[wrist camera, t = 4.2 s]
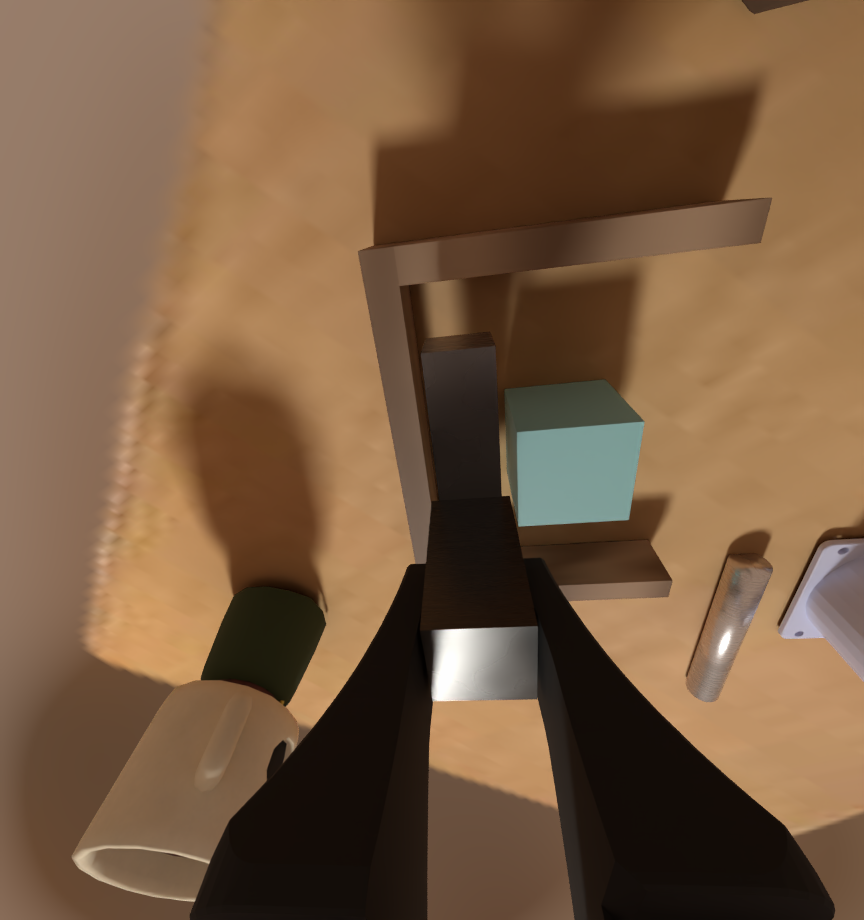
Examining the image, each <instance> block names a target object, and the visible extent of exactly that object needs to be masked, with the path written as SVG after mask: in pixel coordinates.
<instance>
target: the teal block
mask: <svg viewBox="0 0 864 920" xmlns="http://www.w3.org/2000/svg"><path fill="white" fill-rule="evenodd" d="M504 394H505V426H506V458H507V474H508V479H509V483H510V488H511V493H512V498H513V503H514V508H515V513H516V517H517V522H518V527H520V526H537V525H553V524H570V523H586V522H603V521H619V520H629V515H630V509H631V503H632V496H633V490H634V484H635V478H636V471H637V465H638V459H639V453H640V446H641V440H642V434H643V427H644V421H643V419H642V418H641V417H640V416H639V415H638V414H637V413H636V412H635V411H634V410H633V409H632V408H631V407H630V405H629V404H628V403H627V402H626V401H625V400H624V399H623V398H622V397H621V396H620V395H619V394H618V393H617V392H616V390H615V389H614V388H613V387H612V386H611V385H610V384H609V383H608V382H607V381H606V380H605V379H603V380H593V381H582V382H572V383H562V384H551V385H541V386H530V387H520V388H509V389H504Z"/></svg>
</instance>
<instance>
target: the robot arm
mask: <svg viewBox="0 0 864 920" xmlns="http://www.w3.org/2000/svg"><path fill="white" fill-rule="evenodd" d="M523 560H524V564H525V569H526V574H527V578H528V583H529V587H530V592H531V597H532V601H533V606H534V610H535V615H536V619H537V624H538V673H537V697H538V701H539V706H540V710H541V714H542V718H543V722H544V726H545V731H546V736H547V741H548V746H549V752H550V758H551V765H552V771H553V777H554V783H555V790H556V796H557V803H558V809H559V816H560V822H561V828H562V835H563V842H564V849H565V855H566V862H567V869H568V876H569V883H570V889H571V897H572V903H573V911H574V918H575V920H832V919H833V917H834V913H835V908H834V903H833V901H832V900H831V898H830V896H829V894H828V892H827V891H826V889H825V887H824V885H823V883H822V882H821V880H820V878H819V876H818V874H817V873H816V872H815V870H814V868H813V867H812V865H811V864H810V862H809V861H808V859H807V858H806V856H805V855H804V853H803V851H802V850H801V849H800V847H799V845H798V844H797V843H796V841H795V840H794V838H793V837H792V835H791V834H790V832H789V831H788V829H787V828H786V827H785V825H783V824H782V823H781V822H780V821H779V820H778V819H776V818H775V817H774V816H773V815H772V814H770V813H769V812H768V811H767V810H766V809H764V808H763V807H762V806H761V805H760V804H758V803H757V802H756V801H755V800H754V799H752V798H751V797H750V796H749V795H748V794H747V793H745V792H744V791H743V790H742V789H741V788H740V787H739V786H737V785H736V784H735V783H734V782H733V781H732V780H730V779H729V778H728V777H727V776H726V775H725V774H724V773H723V772H721V771H720V770H719V769H718V768H717V767H716V766H715V765H714V764H713V763H712V762H710V761H709V760H708V759H707V758H706V757H705V756H704V755H703V754H702V753H701V752H699V751H698V750H697V749H696V748H695V747H694V746H693V745H692V744H691V743H690V742H689V741H688V740H687V739H686V738H685V737H684V736H683V735H682V734H681V733H680V732H679V731H678V730H677V729H676V728H675V727H674V726H673V725H672V724H671V723H670V722H669V721H668V720H667V719H665V718H664V717H663V716H662V715H661V714H660V713H659V712H658V711H657V710H656V709H655V708H654V707H653V705H652V704H651V703H650V702H649V701H648V700H647V699H646V698H645V697H644V696H643V695H642V694H641V693H640V692H639V691H638V689H637V688H636V687H635V686H634V685H633V684H632V683H631V682H630V681H629V679H628V678H627V677H626V676H625V675H624V674H623V673H622V671H621V670H620V669H619V668H618V667H617V666H616V664H615V663H614V662H613V661H612V660H611V658H610V657H609V656H608V655H607V654H606V652H605V651H604V650H603V648H602V647H601V646H600V645H599V643H598V642H597V641H596V640H595V638H594V637H593V636H592V634H591V633H590V632H589V630H588V629H587V628H586V626H585V625H584V623H583V622H582V621H581V619H580V618H579V616H578V615H577V613H576V612H575V611H574V609H573V608H572V606H571V605H570V603H569V602H568V600H567V599H566V597H565V596H564V594H563V593H562V591H561V589H560V588H559V586H558V584H557V583H556V581H555V579H554V578H553V576H552V574H551V572H550V570H549V569H548V567H547V565H546V563H545V560H543V559H542V558H541V557H540V558H523ZM425 568H426V563H425V564H410V565H409V566H408V567H407V569H406V572H405V575H404V577H403V580H402V583H401V585H400V587H399V590H398V592H397V594H396V596H395V598H394V601H393V603H392V605H391V607H390V609H389V611H388V613H387V615H386V617H385V619H384V621H383V623H382V625H381V626H380V628H379V630H378V632H377V634H376V635H375V637H374V639H373V641H372V642H371V644H370V646H369V648H368V649H367V651H366V653H365V654H364V656H363V658H362V659H361V661H360V663H359V664H358V666H357V667H356V669H355V670H354V672H353V673H352V675H351V677H350V678H349V679H348V681H347V682H346V684H345V685H344V687H343V688H342V690H341V691H340V693H339V694H338V695H337V697H336V698H335V699H334V701H333V702H332V703H331V705H330V706H329V707H328V709H327V710H326V711H325V713H324V714H323V715H322V717H321V718H320V719H319V721H318V722H317V723H316V724H315V726H314V727H313V728H312V729H311V731H310V732H309V733H308V734H307V735H306V737H305V738H304V739H303V740H302V741H301V743H300V744H299V745H298V746H297V747H296V748H295V750H294V751H293V752H292V753H291V754H290V755H289V757H288V758H287V759H286V760H285V761H284V763H283V764H282V765H281V766H280V767H279V768H278V769H277V770H276V772H275V773H274V774H273V775H272V776H271V777H270V778H269V779H268V780H267V781H266V782H265V783H264V784H263V785H262V786H261V787H260V789H259V790H258V791H257V792H256V793H255V794H254V795H253V796H252V797H251V798H250V799H249V800H248V801H247V802H246V803H245V804H244V805H243V806H242V807H241V808H240V809H239V811H238V812H237V813H236V814H235V815H234V816H233V817H232V818H231V819H230V820H229V822H228V824H227V826H226V828H225V830H224V832H223V834H222V837H221V839H220V841H219V843H218V845H217V847H216V849H215V851H214V854H213V856H212V858H211V860H210V863H209V865H208V868H207V871H206V873H205V876H204V879H203V881H202V884H201V887H200V889H199V892H198V895H197V897H196V900H195V903H194V905H193V908H192V910H191V913H190V920H427V845H428V844H427V840H428V838H427V837H428V771H429V739H430V725H431V715H432V706H433V700H432V694H431V689H430V683H429V678H428V672H427V667H426V662H425V656H424V651H423V645H422V640H421V634H420V623H421V612H422V601H423V590H424V579H425ZM778 633H779V634H780V635H781V637H783V638H785V639H798V638H825V639H826V640H827V641H828V642H829V643H830V644H831V645H832V647H833V648H834V649H835V650H836V651H837V652H838V653H839V654H840V656H841V657H842V658H843V659H844V660H845V661H846V662H847V664H848V665H849V666H850V667H851V668H852V669H853V670H854V671H855V673H856V674H857V675H858V676H859V677H860V678H861V679H862V681H863V682H864V538H861V539H842V540H828V541H825V542H823V543H822V544H820V546H819V547H818V549H817V551H816V553H815V555H814V557H813V559H812V561H811V563H810V565H809V567H808V570H807V572H806V574H805V576H804V578H803V580H802V582H801V584H800V586H799V588H798V590H797V592H796V594H795V596H794V598H793V600H792V602H791V604H790V606H789V608H788V610H787V612H786V615H785V617H784V619H783V621H782V623H781V625H780V627H779V629H778Z"/></svg>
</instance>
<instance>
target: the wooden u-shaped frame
mask: <svg viewBox="0 0 864 920" xmlns="http://www.w3.org/2000/svg"><path fill="white" fill-rule="evenodd" d="M771 201H772V198H758V199H742V200H726V201H714V202H706V203H698V204H691V205H683V206H675V207H667V208H660V209H652V210H644V211H637V212H629V213H621V214H614V215H606V216H598V217H591V218H583V219H575V220H568V221H560V222H552V223H545V224H537V225H529V226H522V227H514V228H506V229H499V230H491V231H483V232H476V233H468V234H460V235H452V236H445V237H437V238H429V239H422V240H414V241H406V242H399V243H391V244H383V245H376V246H371V247H368V248H366V249H363V250H360V251H358V255H359V261H360V266H361V271H362V277H363V282H364V287H365V293H366V298H367V304H368V309H369V314H370V320H371V325H372V330H373V336H374V341H375V347H376V352H377V357H378V363H379V368H380V373H381V379H382V384H383V390H384V395H385V400H386V406H387V411H388V416H389V422H390V427H391V433H392V438H393V443H394V449H395V454H396V459H397V465H398V470H399V476H400V481H401V486H402V492H403V497H404V502H405V508H406V513H407V519H408V524H409V529H410V535H411V540H412V545H413V551H414V556H415V562H416V564H425V563H426V557H427V546H428V535H429V524H430V513H431V502H432V501H438V497H437V489H436V482H435V474H434V467H433V460H432V452H431V445H430V437H429V430H428V422H427V415H426V407H425V400H424V392H423V385H422V377H421V370H420V362H419V355H418V347H417V340H416V332H415V325H414V317H413V310H412V303H411V295H410V288H409V285H412V284H421V283H429V282H437V281H446V280H454V279H462V278H471V277H479V276H488V275H496V274H504V273H513V272H521V271H529V270H538V269H546V268H554V267H563V266H571V265H580V264H588V263H596V262H605V261H613V260H621V259H630V258H638V257H646V256H655V255H663V254H672V253H680V252H688V251H697V250H705V249H713V248H722V247H730V246H739V245H747V244H755V243H761V239H762V235H763V232H764V228H765V224H766V220H767V216H768V212H769V209H770V205H771ZM521 551H522V555H523V558H540V557H541V558H542V559H543V560H545V563H546V565H547V567H548V569H549V570H550V572H551V574H552V576H553V578H554V579H555V581H556V583H557V584H558V586H559V588H560V589H561V591H562V593H563V594H564V596H565V597H566V599H567V600H568V601H583V600H608V599H632V598H657V597H668V596H669V592H670V588H671V585H672V579H671V577H670V576H669V574H668V572H667V571H666V569H665V567H664V566H663V564H662V562H661V561H660V559H659V557H658V556H657V554H656V552H655V551H654V549H653V547H652V546H651V544H650V542H649V541H648V540H634V541H615V542H597V543H578V544H560V545H541V546H523V547H521Z"/></svg>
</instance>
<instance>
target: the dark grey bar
mask: <svg viewBox="0 0 864 920" xmlns="http://www.w3.org/2000/svg"><path fill="white" fill-rule="evenodd" d="M421 359H422V367H423V375H424V383H425V391H426V399H427V407H428V415H429V423H430V431H431V439H432V447H433V455H434V463H435V471H436V479H437V487H438V495H439V501H432V502H431V513H430V524H429V535H428V546H427V557H426V568H425V579H424V590H423V601H422V612H421V623H420V634H421V640H422V645H423V651H424V656H425V662H426V667H427V672H428V678H429V683H430V689H431V694H432V700H433V701H467V700H518V699H537V673H538V624H537V619H536V615H535V610H534V606H533V601H532V597H531V592H530V587H529V583H528V578H527V574H526V569H525V564H524V560H523V555H522V551H521V546H520V542H519V537H518V532H517V528H516V523H515V519H514V514H513V510H512V505H511V500H510V496H502V494H501V469H500V444H499V420H498V395H497V370H496V346H495V343H494V341H493V338H492V336H491V334H490V332H483V333H473V334H464V335H454V336H445V337H436V338H426V339H425V342H424V345H423V348H422V351H421Z"/></svg>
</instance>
